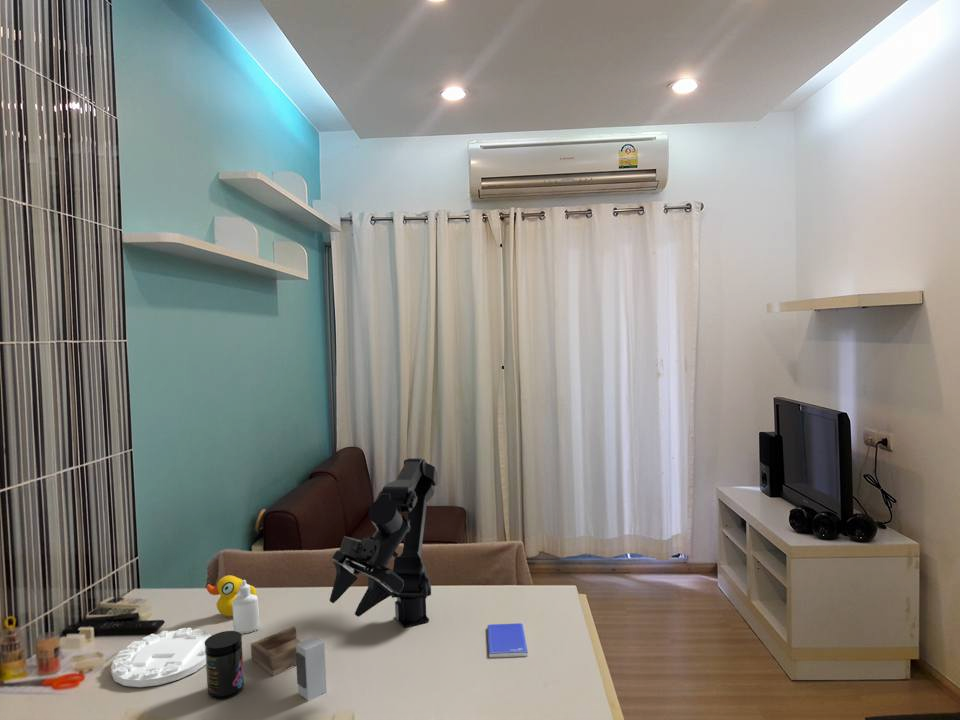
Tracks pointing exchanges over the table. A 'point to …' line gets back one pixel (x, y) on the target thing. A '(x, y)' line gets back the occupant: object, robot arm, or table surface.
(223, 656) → the supplement container
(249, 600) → the eye dropper bottle
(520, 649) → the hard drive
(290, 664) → the wooden tray
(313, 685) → the block
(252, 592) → the duckling
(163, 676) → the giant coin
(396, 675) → the table surface
